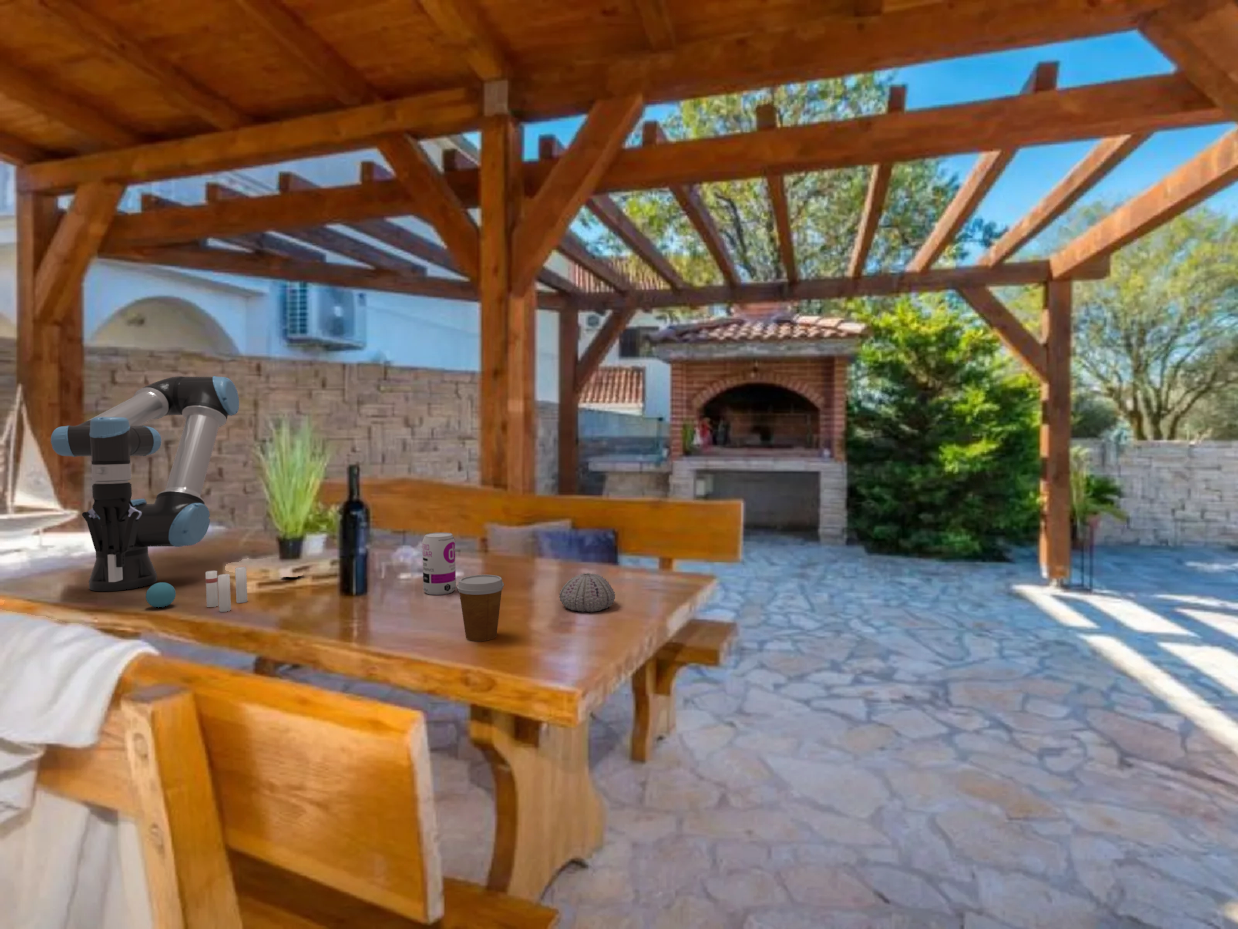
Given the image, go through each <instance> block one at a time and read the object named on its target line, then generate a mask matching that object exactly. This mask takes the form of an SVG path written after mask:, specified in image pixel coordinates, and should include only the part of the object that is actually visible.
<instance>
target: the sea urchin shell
mask: <svg viewBox="0 0 1238 929" xmlns="http://www.w3.org/2000/svg"><path fill="white" fill-rule="evenodd" d="M558 598H559V601H560V602H561V604H562V606H563V605H564V607H565V608H566V609H568V610H570V611H573V612H582V613H584V612H588V613H593V612H599V611H602V610H605V609H609V607H611V606H612V605H613V604H614V602H615V599H616V593H615V591H614V588H613V587H612V585H611V584H610V583H609V581H608V580H607V578H604V577H603V576H602V575H600V574H598V573H589V572H587V573H585V572H583V573H580V574H578V575H574V576H573V577H571V578H570V579H569V580H567V582H566V583H565V584H564V585H563V586H562V589H560V592H559V597H558Z"/></svg>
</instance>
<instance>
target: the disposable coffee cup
mask: <svg viewBox="0 0 1238 929" xmlns="http://www.w3.org/2000/svg"><path fill="white" fill-rule="evenodd" d="M504 586H505V584H504V582H503V578H502V577H501V576H499V575H494V574H475V575H469V576H468V575H467V576H464V577H461V578H460V579H458V584H456V589H457V591H458V592H459V599H460V606H461V612H462V613H461V614H462V620H463V627H464V634H465V638H466V639H467V640H468V641H471V642H485V641H492V640H493V639H495V638H496V637H497V636H498V629H499V628H498V627H499V618H500V609H501V601H502V600H501V599H502V591H503V589H504Z"/></svg>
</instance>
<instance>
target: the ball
mask: <svg viewBox="0 0 1238 929" xmlns="http://www.w3.org/2000/svg"><path fill="white" fill-rule="evenodd" d="M176 594H177V592H176V589H175V587H174V586H173V585H172V584H170V583H168V582H165V581H164V582H156V583H154V584H151V585H150V587H149V588H148V589H147V591H146V593H145V600H146V601H147V603H148V605H150V606H152V607H153V608H156V607H158V608H159V607H162V608H166V607H168V606H170V605H171V604H172V603H173V602H174V600H175V599H176ZM165 606H166V607H165ZM159 609H160V608H159Z"/></svg>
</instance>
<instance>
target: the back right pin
mask: <svg viewBox="0 0 1238 929" xmlns="http://www.w3.org/2000/svg"><path fill="white" fill-rule="evenodd" d="M230 576H231V575H230V574H229V573H223V574H222V573H221V574H217V577H218V582H217V583H218V612H219V613H227V611H228V612H230V610H232V604H231V603H232V602H231V583H230V582H231V580H230V579H231V578H230Z"/></svg>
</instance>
